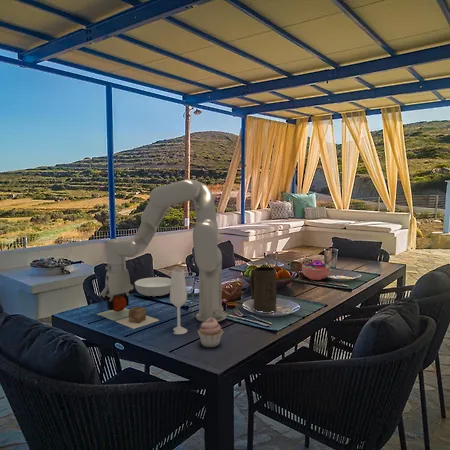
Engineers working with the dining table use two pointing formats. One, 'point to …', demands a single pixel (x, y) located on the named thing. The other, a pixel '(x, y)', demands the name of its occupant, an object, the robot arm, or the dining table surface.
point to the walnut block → (137, 314)
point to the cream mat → (136, 325)
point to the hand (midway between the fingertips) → (118, 307)
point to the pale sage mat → (115, 314)
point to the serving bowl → (153, 286)
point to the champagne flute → (178, 296)
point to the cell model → (316, 270)
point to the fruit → (118, 303)
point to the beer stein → (263, 289)
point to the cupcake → (210, 333)
